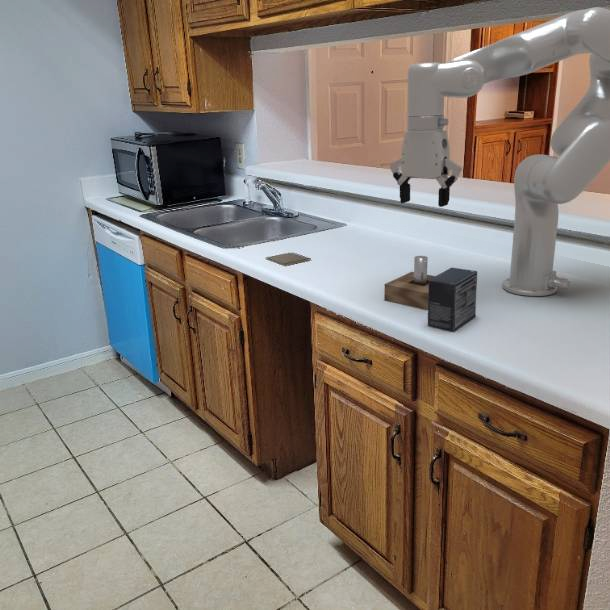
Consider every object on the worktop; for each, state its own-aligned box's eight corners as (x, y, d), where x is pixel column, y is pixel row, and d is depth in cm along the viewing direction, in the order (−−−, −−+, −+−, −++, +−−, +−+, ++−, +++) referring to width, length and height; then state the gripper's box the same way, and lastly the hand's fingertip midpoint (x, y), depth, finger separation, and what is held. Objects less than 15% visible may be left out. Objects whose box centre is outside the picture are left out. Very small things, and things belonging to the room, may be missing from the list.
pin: (428, 297, 143) (430, 256, 140) (422, 301, 141) (423, 259, 138) (417, 295, 145) (418, 255, 142) (411, 298, 143) (412, 258, 139)
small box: (448, 311, 134) (450, 266, 131) (476, 317, 130) (479, 270, 127) (425, 326, 127) (427, 278, 123) (454, 332, 123) (456, 283, 119)
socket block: (455, 295, 143) (455, 279, 142) (429, 310, 135) (430, 293, 134) (411, 287, 151) (411, 271, 150) (384, 300, 142) (384, 284, 141)
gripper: (470, 123, 127) (467, 204, 133) (400, 123, 138) (399, 198, 143) (453, 126, 121) (450, 210, 127) (381, 125, 132) (382, 203, 138)
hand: (423, 203), depth 135 cm, fingers open, 9 cm apart
